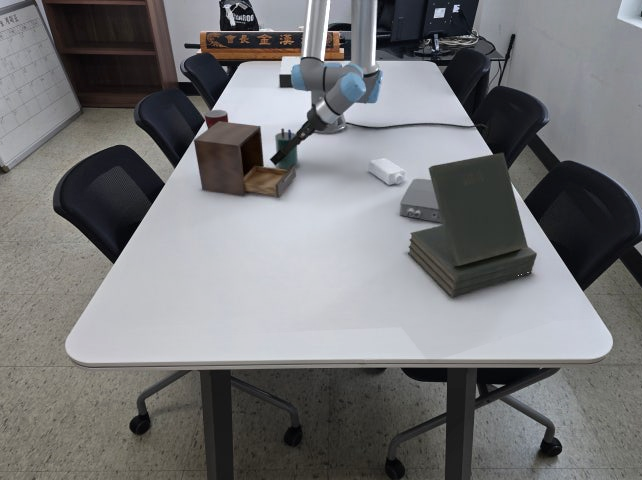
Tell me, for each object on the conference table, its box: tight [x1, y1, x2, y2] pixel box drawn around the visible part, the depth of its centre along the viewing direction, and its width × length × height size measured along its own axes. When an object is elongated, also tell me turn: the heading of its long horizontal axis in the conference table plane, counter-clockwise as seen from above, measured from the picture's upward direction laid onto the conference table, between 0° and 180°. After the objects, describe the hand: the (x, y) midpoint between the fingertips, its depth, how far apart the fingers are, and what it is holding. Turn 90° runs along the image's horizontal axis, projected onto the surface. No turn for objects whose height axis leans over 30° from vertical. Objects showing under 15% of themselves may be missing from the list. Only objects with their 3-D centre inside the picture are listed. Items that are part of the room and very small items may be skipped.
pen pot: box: [274, 127, 299, 170], centre depth 163 cm, size 7×7×13 cm
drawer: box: [244, 164, 297, 199], centre depth 153 cm, size 14×15×4 cm
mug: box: [204, 109, 229, 130], centre depth 180 cm, size 10×8×10 cm
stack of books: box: [407, 152, 538, 299], centre depth 115 cm, size 23×20×25 cm
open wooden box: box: [193, 121, 265, 197], centre depth 152 cm, size 14×16×16 cm
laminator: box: [278, 55, 301, 88], centre depth 248 cm, size 34×12×6 cm, turn 3°
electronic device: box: [399, 178, 443, 224], centre depth 143 cm, size 19×22×5 cm
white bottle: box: [368, 157, 406, 186], centre depth 159 cm, size 6×13×4 cm, turn 30°
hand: (277, 157), depth 166 cm, fingers open, 7 cm apart
